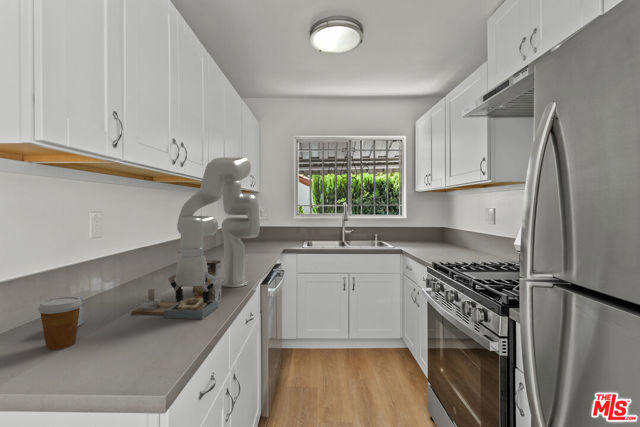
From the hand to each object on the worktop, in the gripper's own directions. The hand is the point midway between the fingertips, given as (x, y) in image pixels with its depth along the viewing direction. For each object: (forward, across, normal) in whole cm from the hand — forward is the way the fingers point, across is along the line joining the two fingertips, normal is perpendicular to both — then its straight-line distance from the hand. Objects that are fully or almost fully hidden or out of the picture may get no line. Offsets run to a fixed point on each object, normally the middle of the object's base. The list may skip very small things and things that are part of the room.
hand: (192, 301), depth 124 cm
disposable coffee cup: (+4, -22, -31) cm, 39 cm away
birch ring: (+3, 0, 0) cm, 3 cm away
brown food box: (+4, 0, +12) cm, 13 cm away
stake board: (+4, -14, +3) cm, 15 cm away
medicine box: (+4, -30, -19) cm, 36 cm away
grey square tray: (+4, 0, 0) cm, 4 cm away
